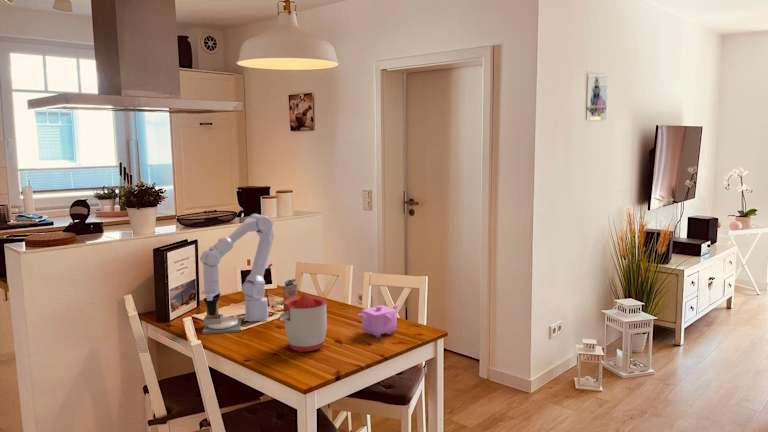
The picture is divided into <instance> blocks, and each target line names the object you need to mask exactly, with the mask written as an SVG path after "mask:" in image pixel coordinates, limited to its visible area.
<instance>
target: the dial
mask: <svg viewBox="0 0 768 432" xmlns="http://www.w3.org/2000/svg"><path fill="white" fill-rule="evenodd" d="M238 319H239V318H237V317H235V316H234V317H233V316H224V314H223V313H220V314H219V319H207V314H205V316H204V318H203V326H205V325H207V327H209V328H212V329H225V328H230V327H234V326H236V325H237V324H238Z"/></svg>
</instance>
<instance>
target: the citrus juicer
mask: <svg viewBox="0 0 768 432" xmlns="http://www.w3.org/2000/svg"><path fill="white" fill-rule="evenodd" d="M327 303H328V301H327V299H326V298H324V297H321V296H315V295H309V294H307V293H303V294H302V295H301V296H297V297H294V298H290V299H288V300H286V301H284V302H283V303H282V305H283V312H282V313H281V314H279V320H280V321H282V322H283V321H284V328H285V329H284V331H285V334H286V335H285V336H286V338H287V343H288V346H289V347H290V348H291V349H292V350H293V351H297V352H300V353H304V352H311V351H316V350H319V349H321V348H322V347H323V345H324V343H325V338H326V335H327V329H328V324H327V323H328V320H327V319H328V318H327V314H328V313H327V312H328V311H327Z"/></svg>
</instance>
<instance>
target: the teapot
mask: <svg viewBox="0 0 768 432" xmlns="http://www.w3.org/2000/svg"><path fill="white" fill-rule="evenodd" d="M398 307H400V304H395V305H393V307H389V306H386V305H375V306H373V307H369V308H366V309H361V313H358V314H357V316H360V317H361V330H362V331H363V332H366V334H367V335H372V336H374V337H375V338H382V335H383V334H386V335H392V332H394V331H398V328H397V327H398V325H397V324H398V323H397V319H398V318H397V315H398V314H397V308H398Z"/></svg>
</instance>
